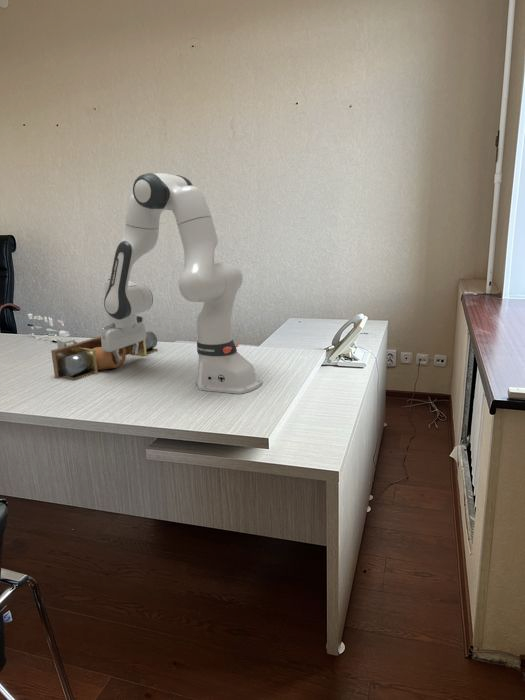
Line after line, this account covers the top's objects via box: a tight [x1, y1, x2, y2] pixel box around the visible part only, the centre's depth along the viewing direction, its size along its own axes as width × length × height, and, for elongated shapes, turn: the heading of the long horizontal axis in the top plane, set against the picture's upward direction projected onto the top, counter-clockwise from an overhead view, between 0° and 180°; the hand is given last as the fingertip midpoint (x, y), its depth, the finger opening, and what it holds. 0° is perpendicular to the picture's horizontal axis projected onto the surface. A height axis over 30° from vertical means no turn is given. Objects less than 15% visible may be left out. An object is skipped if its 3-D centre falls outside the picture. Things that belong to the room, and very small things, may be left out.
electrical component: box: [56, 336, 78, 349], centre depth 215 cm, size 24×6×5 cm, turn 42°
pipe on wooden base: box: [50, 330, 158, 381], centre depth 200 cm, size 10×44×10 cm, turn 149°
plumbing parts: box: [27, 313, 71, 344], centre depth 236 cm, size 6×35×12 cm, turn 52°
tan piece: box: [93, 347, 127, 371], centre depth 198 cm, size 18×8×7 cm
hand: (127, 357), depth 197 cm, fingers open, 7 cm apart
